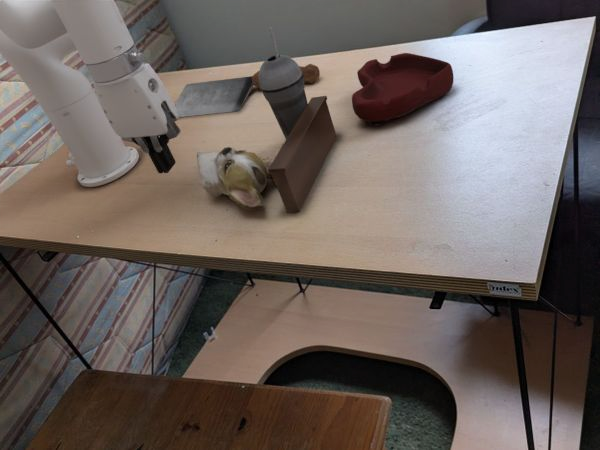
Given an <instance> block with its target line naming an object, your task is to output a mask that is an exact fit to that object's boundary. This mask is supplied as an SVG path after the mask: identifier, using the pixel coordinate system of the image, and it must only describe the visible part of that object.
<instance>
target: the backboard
mask: <svg viewBox="0 0 600 450" xmlns="http://www.w3.org/2000/svg"><path fill="white" fill-rule="evenodd" d="M327 100H328V97H327V95H322V96H314V97H311V98H310V100H309V101H308V102H307V103H308V105H307V106H306V108H305V109H304V111H303V113H302V114H301V116H300V118H299V119H298V121H297V123H296V124H295V126H294V128H293V129H292V131H291V133H290V134H289V136H288V137H287V139H285V141H284V143H283V144H282V146H281V147H280V149H279V151H278V152H277V153H276V155H275V157H274V159H273V160H274V161H273V162H272V164H271V165H270V167H269V169H268V171H269V173H272V176H273V178H274V180H273V181H274V183H275V186H276V188H277V191H278V193H279V196H280V199H281V201H282V204H283V207H284V208H285V211H286V213H300V212H301V210H302V208H303V206H304V204H305V202H306V200H307V198H308V196H309V194H310V192H311V189H312V188H313V185H314V184H315V182H316V179H317V178H318V176H319V173H320V171H321V169H322V167H323V165H324V163H325V161H326V159H327V157H328V155H329V154H330V151H331V149H332V148H333V145H334V143H335V141H336V140H337V137H338V136H337V133H336V129H335V126H334V123H333V120H332V116H331V112H330V109H329V106H328V102H327Z"/></svg>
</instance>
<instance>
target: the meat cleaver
mask: <svg viewBox="0 0 600 450" xmlns="http://www.w3.org/2000/svg"><path fill="white" fill-rule="evenodd" d="M298 66H299V67H300V70H301V71H302V73H303V75H304V76H303V79H304V83H305V82H308V83H314V82H316V81H317V80H318V79H319V78H320V76H321V75H320V73H321V72H320V68H319V66H317V65H315V64H312V63H308V64H307V65H305V66H302V65H301V66H300V65H298ZM259 71H260V70H258V71H257V72H255V73H254V74H253V75H250V76H243V77H242V76H241V77H235V78H225V79H218V80H217V79H216V80H209V81H201V82H193V83H187V84H185V85H184V87H183V89H182V91H181V92H180V94H179V96H178V98H177V100H176V102H175V103H174V105H175V107H176V109H177V111H178V114H179V118H184V117H185V118H186V117H195V116H202V115H213V114H222V113H223V114H224V113H231V112H240V111H241V109H242V107H243V105H244V103H245V102H246V100H247V98H248V96H249V94H250V93H251V91H252V89H253V88H254V87H255V88H258V89H260V84H259Z"/></svg>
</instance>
